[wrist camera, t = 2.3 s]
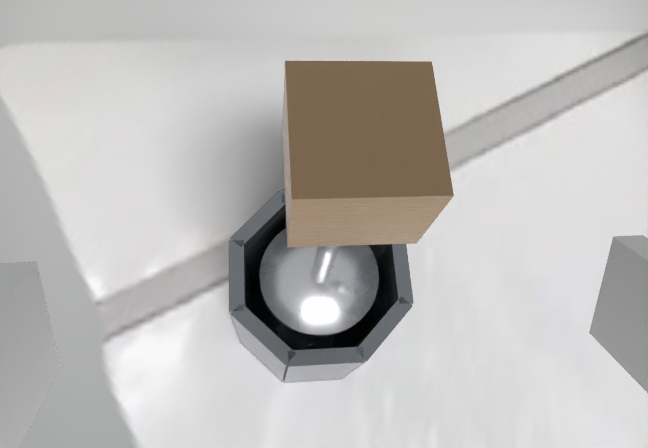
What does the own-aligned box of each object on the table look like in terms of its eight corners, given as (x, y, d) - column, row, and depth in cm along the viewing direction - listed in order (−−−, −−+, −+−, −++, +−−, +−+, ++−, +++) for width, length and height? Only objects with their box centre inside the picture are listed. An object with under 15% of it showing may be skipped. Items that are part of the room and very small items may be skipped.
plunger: (370, 222, 32) (461, 32, 17) (381, 334, 30) (499, 232, 14) (258, 225, 31) (246, 30, 16) (261, 340, 29) (250, 240, 14)
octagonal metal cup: (369, 242, 41) (398, 187, 31) (383, 376, 37) (420, 359, 28) (238, 247, 40) (228, 191, 30) (240, 385, 36) (229, 370, 27)
